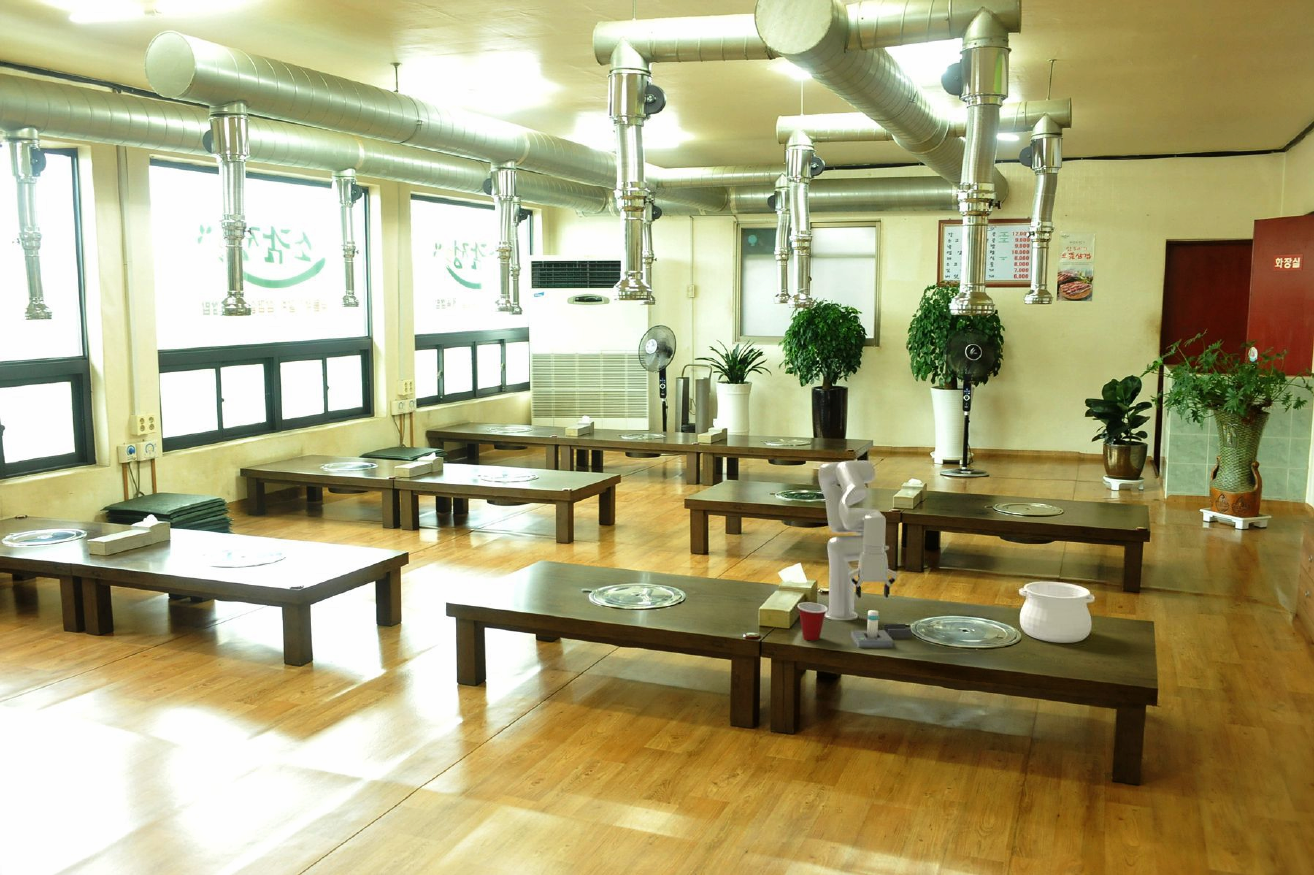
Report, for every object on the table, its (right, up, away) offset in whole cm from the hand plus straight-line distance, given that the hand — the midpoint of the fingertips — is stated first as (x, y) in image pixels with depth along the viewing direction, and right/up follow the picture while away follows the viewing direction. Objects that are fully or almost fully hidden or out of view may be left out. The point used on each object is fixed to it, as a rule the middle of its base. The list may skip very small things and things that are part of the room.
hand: (872, 596), depth 369 cm
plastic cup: (-20, -16, +8) cm, 27 cm away
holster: (+11, -16, +10) cm, 22 cm away
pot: (+69, -16, +12) cm, 72 cm away
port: (0, -17, +2) cm, 17 cm away
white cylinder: (0, -16, +1) cm, 16 cm away
